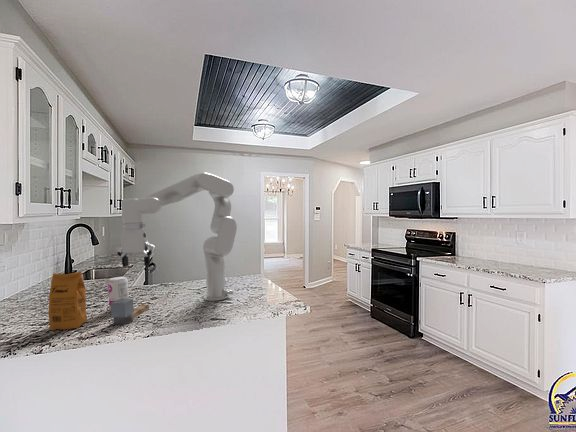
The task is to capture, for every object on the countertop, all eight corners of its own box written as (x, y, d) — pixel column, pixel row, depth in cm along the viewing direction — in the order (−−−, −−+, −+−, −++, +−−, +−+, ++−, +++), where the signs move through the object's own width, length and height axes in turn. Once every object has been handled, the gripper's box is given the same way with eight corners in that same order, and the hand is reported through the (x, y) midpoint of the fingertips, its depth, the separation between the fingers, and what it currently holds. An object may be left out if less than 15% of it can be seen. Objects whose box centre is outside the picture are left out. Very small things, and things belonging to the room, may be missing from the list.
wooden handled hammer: (138, 308, 148) (137, 295, 148) (152, 308, 147) (151, 294, 147) (109, 325, 127) (109, 309, 127) (126, 325, 127) (125, 309, 127)
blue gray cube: (133, 312, 133) (133, 298, 133) (125, 317, 127) (124, 302, 127) (120, 312, 134) (119, 298, 134) (111, 317, 128) (110, 303, 128)
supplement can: (109, 313, 142) (107, 281, 142) (110, 309, 149) (108, 277, 149) (129, 310, 146) (127, 278, 145) (129, 306, 153) (127, 275, 153)
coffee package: (60, 322, 133) (57, 271, 132) (91, 320, 134) (88, 269, 133) (44, 332, 123) (40, 276, 122) (77, 329, 124) (74, 274, 123)
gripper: (156, 225, 139) (159, 263, 140) (119, 227, 140) (122, 265, 141) (148, 226, 132) (151, 267, 133) (108, 228, 133) (112, 268, 134)
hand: (136, 266), depth 137 cm, fingers open, 9 cm apart
